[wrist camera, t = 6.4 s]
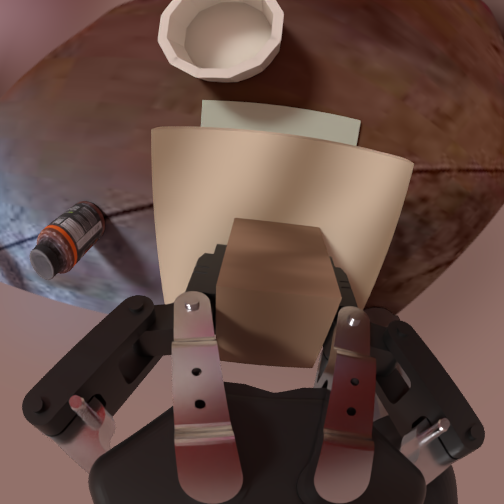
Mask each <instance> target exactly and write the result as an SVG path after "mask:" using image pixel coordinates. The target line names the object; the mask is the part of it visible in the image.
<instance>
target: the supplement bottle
mask: <svg viewBox="0 0 504 504" xmlns="http://www.w3.org/2000/svg"><path fill="white" fill-rule="evenodd" d="M104 229H105V221H104V217H103V215H102V213H101V211H100V210H99V209H98V208H97V207H96V205H94V204H93V203H90V202H87V201H82V202H79V203H77V204H75V205H74V206H73V207H71V208H70V209H69V210H67V211H66V212H64V213H63V214H62V215H61V216H59V217H58V218H57V219H55V220H54V221H53V222H52V223H50V224H49V225H48V226H47V227H46V228H44V229H43V230H42V231H41V233H40V234H39V236H38V239H37V245H36V247H35V248H34V249H33V250H32V251H31V253H30V261H31V264H32V266H33V268H34V270H35V271H36V272H37V274H38V275H39V276H41V277H42V278H44V279H46V280H50V279H52V278H53V277H54V276H55V275H56V274H57V273H60V274H61V273H67V272H68V271H70V270H71V269H72V268H73V267H74V265H75V264H76V263H77V262H78V261H79V260H80V259H81V258H82V257H83V256H84V254H85V253H86V252H87V251H88V250H89V249H90V248H91V247H92V246H93V245H94V244H95V243H96V242H97V241H98V240H99V238H100V237H101V236H102V235H103V233H104Z"/></svg>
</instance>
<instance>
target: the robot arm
mask: <svg viewBox="0 0 504 504" xmlns="http://www.w3.org/2000/svg"><path fill="white" fill-rule="evenodd" d="M226 247H227V245H224V244H217V245H216V248H215V251H214V254H210V253H204V254H203V255H202V256H201V257H199V258H198V260H197V263H196V265H195V268H194V270H193V273H192V275H191V278H190V280H189V283H188V286H187V288H186V291H185V292H184V293H182V294H180V295H179V296H178V297H177V298H176V299H175V301H174V302H173V303H170V304H164V305H154V304H153V302H152V300H151V299H150V298H148V297H146V296H141V295H136V296H132V297H129V298H127V299H125V300H124V301H123V302H122V303H121V304H120V305H118V306H117V307H116V308H115V309H114V310H113V311H112V312H111V313H110V314H108V315H107V316H106V317H105V318H104V319H103V320H102V321H101V322H100V323H99V324H98V325H97V326H95V327H94V328H93V329H92V330H91V331H90V332H89V333H88V334H87V335H86V336H85V337H84V338H83V339H82V340H80V341H79V342H78V343H77V344H76V345H75V346H74V347H73V348H72V349H71V350H70V351H69V352H68V353H67V354H66V355H65V356H64V357H63V358H62V359H61V360H60V361H59V362H58V363H57V364H56V365H55V366H54V367H53V368H52V369H51V370H50V371H49V372H48V373H47V374H46V375H45V376H44V377H43V378H42V379H41V380H40V381H39V382H38V383H37V384H36V385H35V386H34V387H33V388H32V389H31V390H30V391H29V392H28V393H27V395H26V396H25V398H24V400H23V404H22V410H23V414H24V416H25V418H26V419H27V420H28V421H29V422H30V423H31V424H32V425H34V426H35V427H36V428H37V429H38V430H39V431H40V432H41V433H42V434H43V435H45V436H46V437H47V438H49V439H50V440H52V441H53V442H55V443H56V444H57V445H58V446H59V447H60V448H61V449H62V450H63V451H64V452H65V453H66V454H67V455H68V456H69V457H71V458H72V459H73V460H74V461H75V462H76V463H77V464H78V465H79V466H80V467H82V468H83V469H84V470H85V471H86V472H87V473H88V474H89V481H88V483H89V490H90V493H91V496H92V499H93V502H94V504H458V498H457V487H456V479H455V474H454V471H453V467H452V465H451V464H452V463H454V462H456V461H458V460H460V459H461V458H463V457H465V456H467V455H468V454H470V453H471V452H473V451H475V450H476V449H478V448H479V447H480V446H481V445H482V444H483V441H484V437H485V431H484V427H483V425H482V424H481V422H480V420H479V419H478V417H477V416H476V414H475V413H474V411H473V409H472V408H471V406H470V405H469V403H468V402H467V400H466V399H465V397H464V396H463V394H462V393H461V392H460V390H459V389H458V387H457V386H456V384H455V383H454V382H453V380H452V379H451V377H450V376H449V375H448V373H447V372H446V371H445V369H444V368H443V366H442V365H441V364H440V362H439V361H438V360H437V358H436V357H435V356H434V355H433V353H432V352H431V350H430V349H429V348H428V347H427V345H426V344H425V343H424V342H423V340H422V339H421V338H420V336H419V335H418V334H417V333H416V331H415V330H414V329H413V328H412V327H411V326H410V325H409V324H408V323H406V322H403V321H400V319H399V317H398V316H395V315H393V314H392V313H391V312H390V311H388V310H386V309H383V308H369V309H366V310H361V309H359V308H358V306H357V303H356V300H355V297H354V294H353V291H352V289H351V285H350V283H349V280H348V277H347V274H346V273H345V272H344V271H343V270H342V269H341V268H340V267H335V266H334V263H333V260H332V257H331V256H329V257H330V260H331V264H332V267H333V270H334V273H335V277H336V280H337V283H338V287H339V290H340V293H341V297H342V299H341V302H340V304H339V307H338V309H337V312H336V314H335V317H334V319H333V322H332V324H331V327H330V329H329V332H328V334H327V336H326V339H325V341H324V343H323V350H322V352H321V355H320V359H319V364H318V369H317V374H316V379H315V383H314V387H313V388H300V389H295V390H290V391H285V392H279V393H272V392H269V391H265V390H262V389H259V388H255V387H252V386H249V385H246V384H238V383H230V382H223V377H222V372H221V365H220V358H219V352H218V345H217V340H216V339H215V335H214V334H216V284H217V281H218V277H219V273H220V269H221V266H222V262H223V258H224V254H225V251H226ZM163 355H172V388H173V406H172V407H171V408H169V409H168V410H167V411H165V412H164V413H163V414H161V415H160V416H159V417H157V418H156V419H154V420H153V421H152V422H150V423H149V424H147V425H146V426H144V427H143V428H142V429H140V430H139V431H137V432H136V433H134V434H133V435H131V436H130V437H129V438H127V439H126V440H124V441H123V442H121V443H119V444H118V445H116V446H115V447H113V448H112V449H110V440H111V438H112V436H113V434H114V432H115V421H114V419H113V416H114V414H115V413H116V412H117V411H118V409H119V408H120V407H121V406H122V405H123V403H124V402H125V401H126V400H127V398H128V397H129V396H130V395H131V394H132V393H133V391H134V390H135V389H136V388H137V387H138V385H139V384H140V383H141V382H142V380H143V379H144V378H145V377H146V376H147V374H148V373H149V372H150V371H151V370H152V368H153V367H154V366H155V365H156V363H157V362H158V361H159V360H160V359H161V357H162V356H163Z"/></svg>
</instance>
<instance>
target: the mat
mask: <svg viewBox="0 0 504 504" xmlns="http://www.w3.org/2000/svg"><path fill="white" fill-rule="evenodd" d="M360 122H361V121H360V120H356V119H352V118H348V117H343V116H339V115H334V114H329V113H324V112H318V111H313V110H307V109H301V108H294V107H287V106H279V105H271V104H261V103H250V102H236V101H215V100H202V116H201V127H217V128H234V129H247V130H258V131H267V132H276V133H284V134H292V135H299V136H305V137H312V138H318V139H323V140H329V141H334V142H339V143H344V144H349V145H354V146H356V145H357V140H358V134H359V128H360Z"/></svg>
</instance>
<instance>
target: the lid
mask: <svg viewBox="0 0 504 504" xmlns="http://www.w3.org/2000/svg"><path fill="white" fill-rule="evenodd" d="M151 152H152V184H153V202H154V216H155V228H156V239H157V249H158V258H159V266H160V274H161V281H162V288H163V295H164V301H165V304H170V303H173V302H174V301H175V299H176V298H177V297H178V296H179V295H180V294H182V293H184V292H185V291H186V288H187V286H188V283H189V280H190V278H191V275H192V273H193V270H194V268H195V265H196V263H197V260H198V258H199V257H201V256H202V255H203V254H204V253H210V254H214V251H215V248H216V245H217V244H224V245H227V247H226V251H225V254H224V258H223V262H222V266H221V269H220V273H219V277H218V281H217V284H216V340H217V345H218V352H219V358H220V361H227V362H236V363H244V364H255V365H267V366H280V367H298V368H299V367H300V368H312V367H313V365H314V363H315V361H316V359H317V357H318V355H319V352H320V350H321V348H322V346H323V343H324V341H325V339H326V336H327V334H328V332H329V329H330V327H331V324H332V322H333V319H334V317H335V314H336V312H337V309H338V307H339V304H340V302H341V299H342V297H341V293H340V290H339V287H338V283H337V280H336V277H335V273H334V270H333V267H332V264H331V260H330V257H329V256H331V257H332V260H333V263H334V266H335V267H340V268H341V269H342V270H343V271H344V272H345V273H346V274H347V277H348V280H349V283H350V285H351V289H352V291H353V294H354V297H355V300H356V303H357V306H358V308H359V309H361V310H363V309H364V307H365V305H366V302H367V300H368V298H369V296H370V293H371V291H372V289H373V286H374V284H375V282H376V279H377V277H378V274H379V272H380V269H381V267H382V264H383V261H384V259H385V256H386V254H387V251H388V248H389V245H390V243H391V240H392V237H393V234H394V231H395V228H396V225H397V222H398V219H399V216H400V213H401V209H402V206H403V203H404V199H405V196H406V192H407V189H408V185H409V181H410V178H411V174H412V170H413V165H414V163H412V162H410V161H409V160H407V159H405V158H402V157H398V156H394V155H391V154H387V153H383V152H379V151H375V150H371V149H367V148H363V147H358V146H354V145H349V144H344V143H339V142H334V141H329V140H323V139H318V138H312V137H305V136H299V135H292V134H284V133H276V132H267V131H258V130H247V129H234V128H217V127H157V128H154V129H151Z"/></svg>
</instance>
